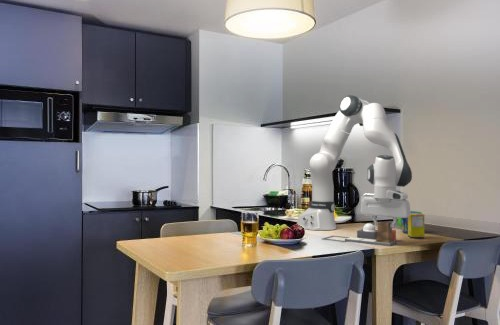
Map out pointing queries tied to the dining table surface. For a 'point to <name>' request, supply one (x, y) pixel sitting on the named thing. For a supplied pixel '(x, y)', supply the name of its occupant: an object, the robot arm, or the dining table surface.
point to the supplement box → (416, 225)
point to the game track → (368, 241)
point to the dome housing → (367, 234)
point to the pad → (335, 240)
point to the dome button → (369, 227)
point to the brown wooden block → (384, 232)
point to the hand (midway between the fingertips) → (384, 227)
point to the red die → (394, 235)
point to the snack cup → (405, 222)
